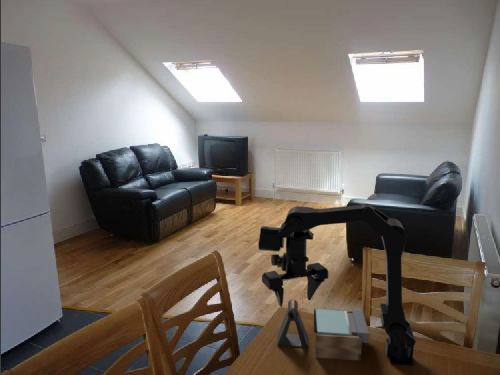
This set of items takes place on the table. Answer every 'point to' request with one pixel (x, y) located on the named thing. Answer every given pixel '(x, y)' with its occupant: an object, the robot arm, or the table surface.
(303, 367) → the table surface
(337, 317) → the trapdoor
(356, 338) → the trapdoor frame
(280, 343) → the phone stand
